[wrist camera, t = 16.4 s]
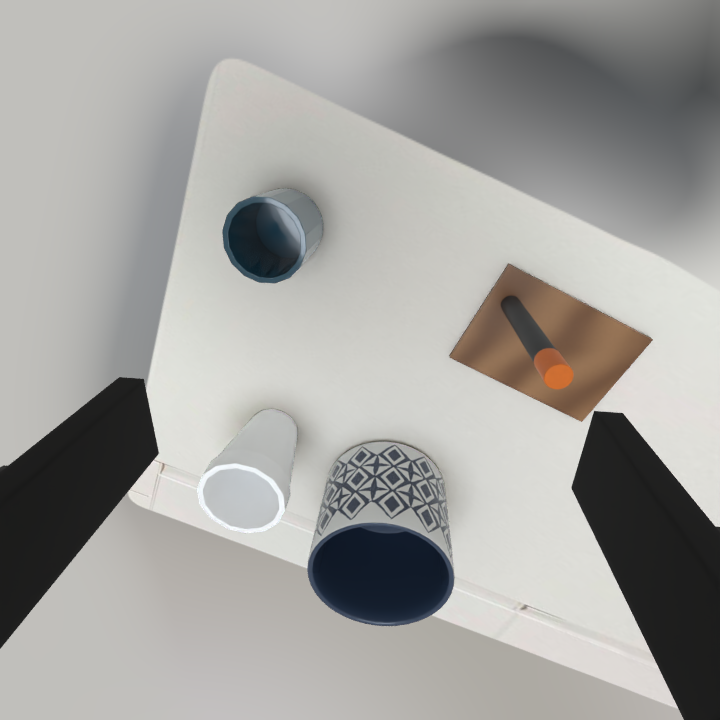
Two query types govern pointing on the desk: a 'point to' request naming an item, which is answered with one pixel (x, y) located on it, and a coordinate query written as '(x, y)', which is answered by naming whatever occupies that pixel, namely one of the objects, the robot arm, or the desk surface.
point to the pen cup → (272, 234)
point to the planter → (383, 537)
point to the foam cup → (252, 475)
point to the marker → (537, 345)
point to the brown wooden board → (564, 330)
